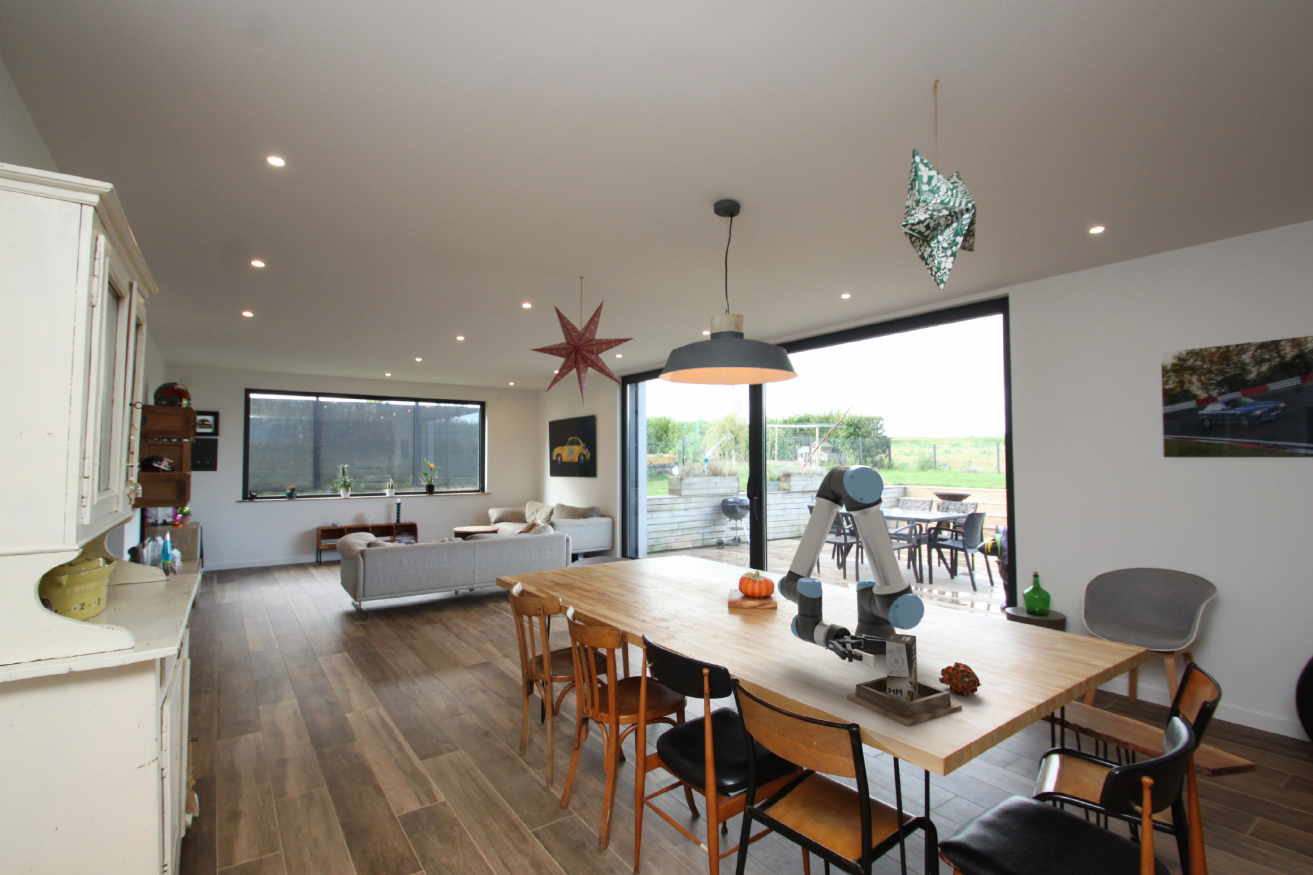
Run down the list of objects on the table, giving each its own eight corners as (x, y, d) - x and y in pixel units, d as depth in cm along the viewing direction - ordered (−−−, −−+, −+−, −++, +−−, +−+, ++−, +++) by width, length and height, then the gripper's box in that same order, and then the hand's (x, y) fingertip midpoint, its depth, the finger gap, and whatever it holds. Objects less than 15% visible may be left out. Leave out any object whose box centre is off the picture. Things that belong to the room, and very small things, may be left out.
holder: (898, 684, 174) (897, 670, 174) (961, 709, 156) (961, 693, 156) (846, 698, 164) (846, 683, 165) (908, 726, 147) (907, 709, 147)
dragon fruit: (977, 707, 161) (944, 697, 172) (994, 684, 164) (960, 676, 175) (958, 682, 161) (926, 674, 172) (976, 659, 164) (943, 653, 175)
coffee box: (913, 708, 155) (911, 644, 156) (886, 703, 158) (884, 640, 159) (919, 696, 163) (917, 635, 163) (893, 691, 166) (891, 631, 167)
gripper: (863, 643, 188) (922, 662, 169) (801, 657, 176) (858, 679, 157) (862, 618, 188) (921, 635, 169) (801, 630, 176) (857, 650, 158)
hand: (891, 656), depth 163 cm, fingers open, 13 cm apart
